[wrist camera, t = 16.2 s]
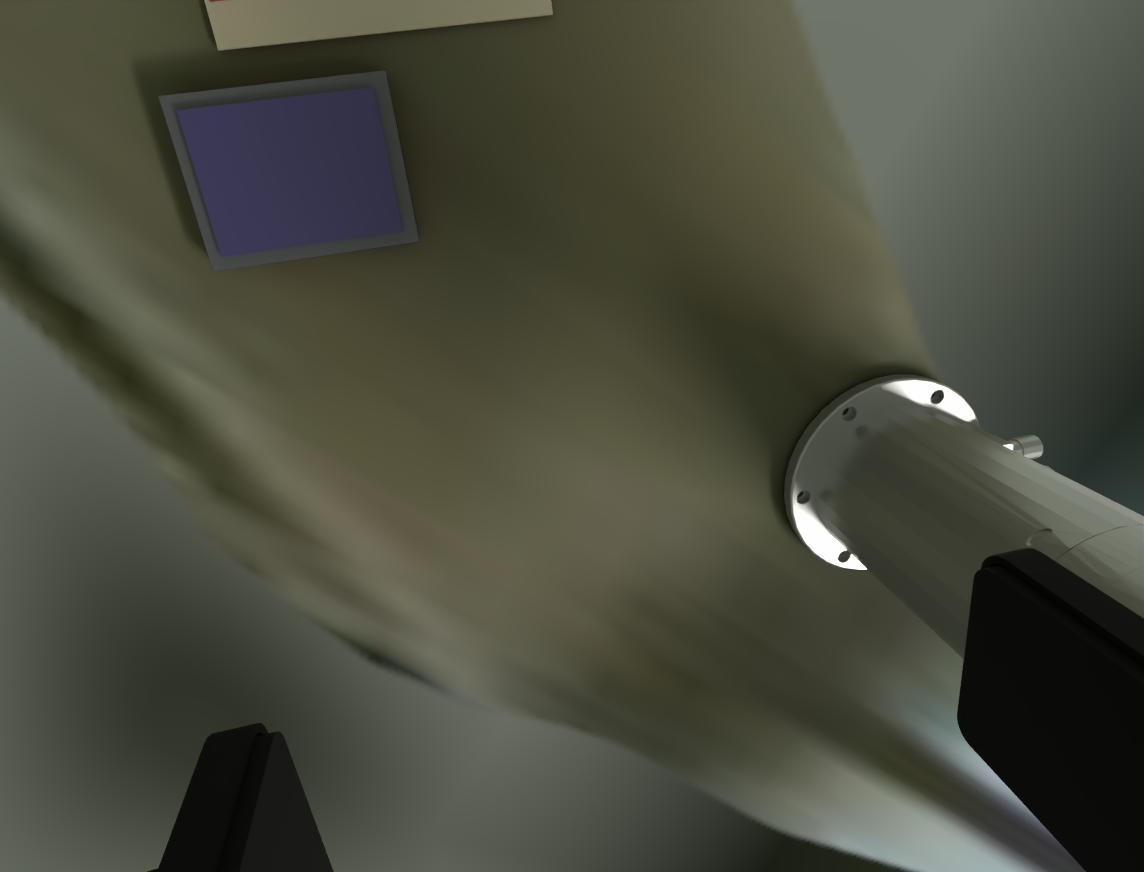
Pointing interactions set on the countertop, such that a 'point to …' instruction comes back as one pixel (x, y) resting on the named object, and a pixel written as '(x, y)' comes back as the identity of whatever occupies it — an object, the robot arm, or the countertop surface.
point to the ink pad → (293, 168)
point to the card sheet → (350, 18)
